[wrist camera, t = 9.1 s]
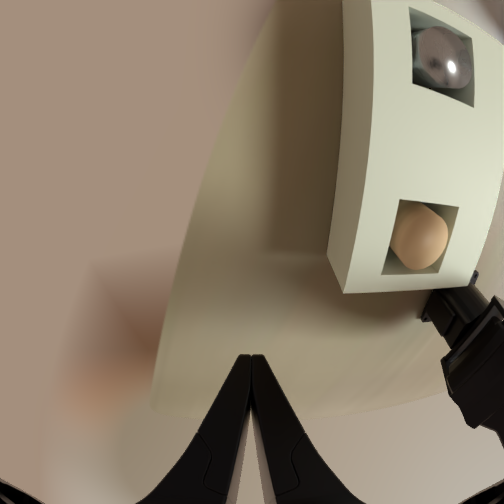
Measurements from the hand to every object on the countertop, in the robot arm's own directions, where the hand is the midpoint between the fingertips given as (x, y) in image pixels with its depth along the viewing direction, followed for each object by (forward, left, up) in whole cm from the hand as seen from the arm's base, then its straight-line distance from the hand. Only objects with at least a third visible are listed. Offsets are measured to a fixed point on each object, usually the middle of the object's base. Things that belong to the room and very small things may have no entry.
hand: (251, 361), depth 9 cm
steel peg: (-11, -13, -12) cm, 21 cm away
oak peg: (-11, -1, -12) cm, 16 cm away
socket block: (-12, -7, -12) cm, 19 cm away
